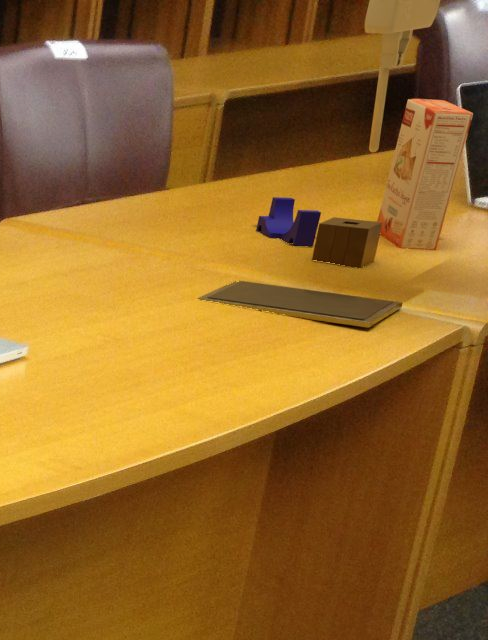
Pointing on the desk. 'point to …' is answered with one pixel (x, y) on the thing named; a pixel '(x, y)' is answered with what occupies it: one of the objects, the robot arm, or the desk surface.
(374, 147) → the stylus
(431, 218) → the cracker box
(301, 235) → the cable clip
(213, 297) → the tablet
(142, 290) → the desk surface
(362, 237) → the pen stand
